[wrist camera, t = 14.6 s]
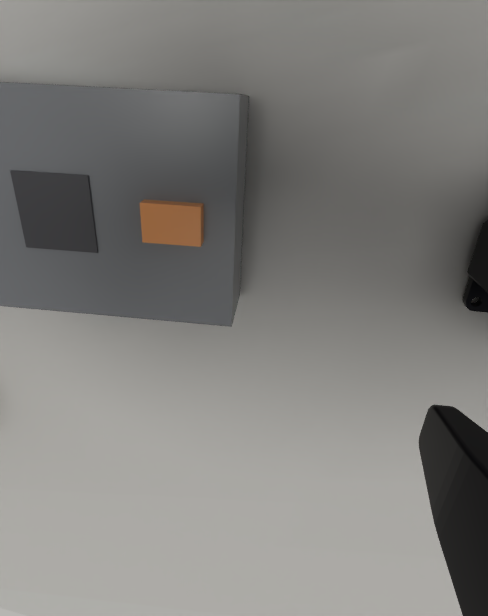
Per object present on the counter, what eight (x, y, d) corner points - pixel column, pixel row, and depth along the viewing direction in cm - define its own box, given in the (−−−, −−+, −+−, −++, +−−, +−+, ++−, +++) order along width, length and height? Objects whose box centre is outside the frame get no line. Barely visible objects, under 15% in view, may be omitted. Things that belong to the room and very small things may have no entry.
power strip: (248, 95, 17) (238, 93, 14) (239, 294, 21) (229, 333, 18) (-186, 73, 18) (-303, 66, 15) (-113, 264, 23) (-189, 295, 19)
